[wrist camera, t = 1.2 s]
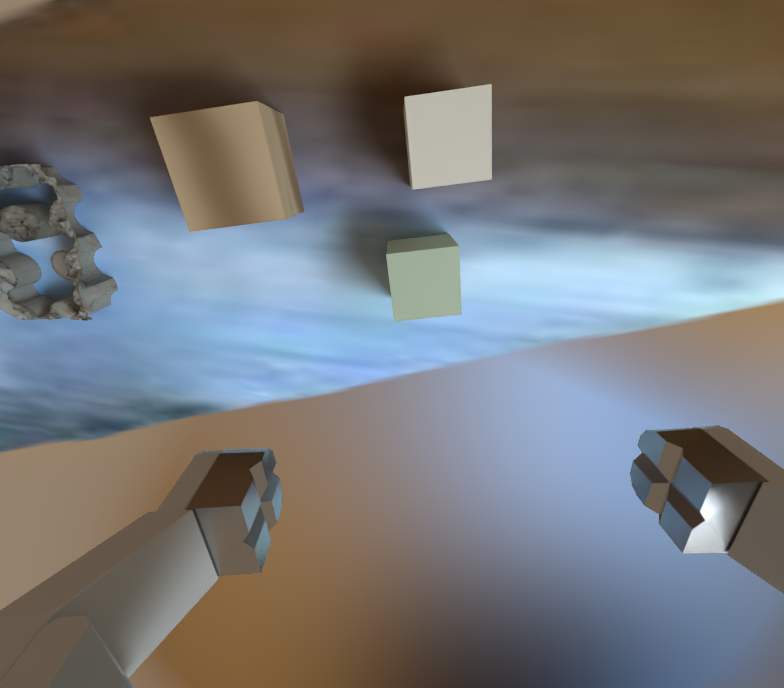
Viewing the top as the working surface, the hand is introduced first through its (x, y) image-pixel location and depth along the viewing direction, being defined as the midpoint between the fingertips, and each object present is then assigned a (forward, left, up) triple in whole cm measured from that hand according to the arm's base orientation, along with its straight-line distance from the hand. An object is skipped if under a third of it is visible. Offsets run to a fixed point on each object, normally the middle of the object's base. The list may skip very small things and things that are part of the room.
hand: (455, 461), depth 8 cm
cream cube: (-2, -7, -21) cm, 23 cm away
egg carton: (+27, -4, -22) cm, 35 cm away
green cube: (0, +1, -21) cm, 21 cm away
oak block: (+11, -7, -22) cm, 25 cm away
